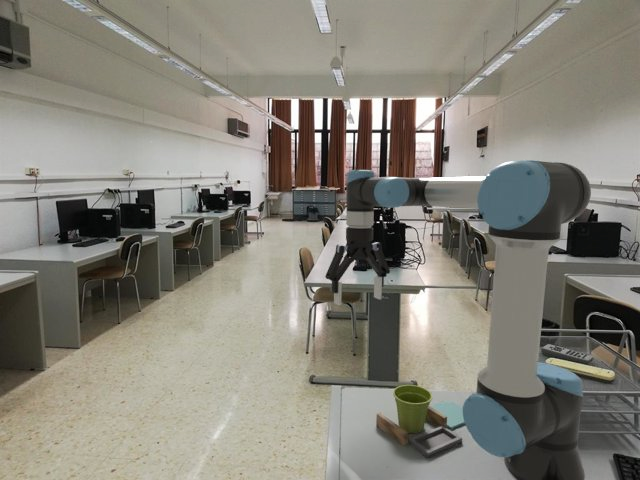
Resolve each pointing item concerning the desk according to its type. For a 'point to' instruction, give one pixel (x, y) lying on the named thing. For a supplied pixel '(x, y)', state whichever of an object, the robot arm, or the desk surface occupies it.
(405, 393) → the plant pot
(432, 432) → the tray
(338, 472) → the desk surface
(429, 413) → the channel
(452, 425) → the pad
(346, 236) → the robot arm
